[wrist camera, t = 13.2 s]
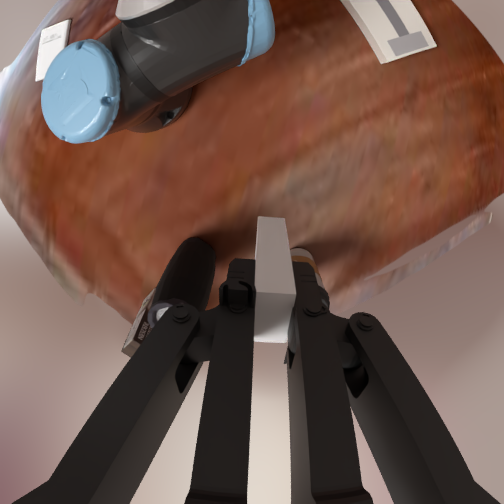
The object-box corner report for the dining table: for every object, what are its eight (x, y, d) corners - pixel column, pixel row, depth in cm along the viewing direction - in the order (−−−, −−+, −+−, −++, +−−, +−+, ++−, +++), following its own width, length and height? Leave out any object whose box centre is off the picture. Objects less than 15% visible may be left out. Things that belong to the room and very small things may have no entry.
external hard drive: (39, 81, 35) (45, 30, 29) (65, 73, 35) (72, 20, 29) (34, 81, 34) (40, 30, 27) (61, 73, 34) (68, 19, 28)
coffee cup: (299, 234, 52) (310, 283, 39) (325, 260, 55) (341, 311, 42) (267, 260, 55) (268, 312, 42) (294, 284, 58) (301, 337, 45)
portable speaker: (169, 258, 56) (136, 326, 39) (190, 225, 52) (158, 290, 35) (203, 279, 58) (183, 351, 42) (227, 249, 54) (212, 320, 38)
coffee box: (142, 300, 63) (119, 351, 49) (155, 286, 60) (131, 339, 46) (172, 321, 66) (155, 373, 52) (186, 308, 63) (170, 363, 49)
